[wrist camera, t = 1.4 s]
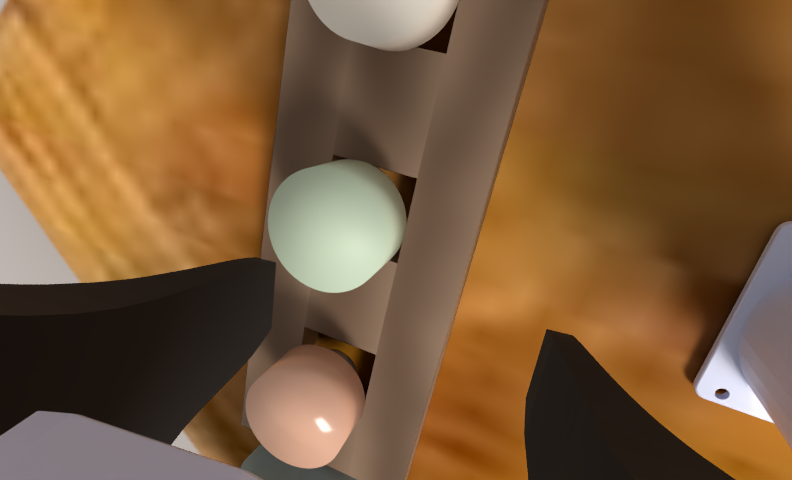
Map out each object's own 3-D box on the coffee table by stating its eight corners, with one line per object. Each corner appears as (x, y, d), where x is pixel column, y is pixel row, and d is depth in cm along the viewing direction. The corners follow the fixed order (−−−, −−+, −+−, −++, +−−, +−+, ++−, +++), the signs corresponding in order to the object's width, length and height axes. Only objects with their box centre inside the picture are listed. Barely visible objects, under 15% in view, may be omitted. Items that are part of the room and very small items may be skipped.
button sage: (430, 170, 19) (397, 188, 16) (405, 271, 21) (370, 310, 17) (329, 142, 21) (275, 151, 17) (313, 240, 22) (261, 269, 18)
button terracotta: (387, 347, 23) (351, 399, 19) (368, 423, 24) (332, 485, 20) (301, 314, 24) (251, 356, 20) (289, 389, 25) (240, 441, 22)
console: (597, -166, 16) (602, -200, 14) (409, 471, 26) (398, 498, 25) (341, -189, 18) (317, -220, 17) (260, 404, 29) (240, 424, 27)
